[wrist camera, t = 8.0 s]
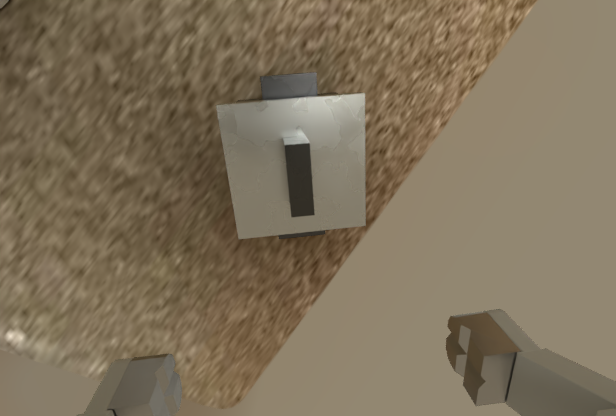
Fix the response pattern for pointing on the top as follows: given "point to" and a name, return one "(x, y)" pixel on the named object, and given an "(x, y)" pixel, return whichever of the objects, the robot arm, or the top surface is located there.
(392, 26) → the top surface
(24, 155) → the top surface
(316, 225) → the lid
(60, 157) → the top surface
